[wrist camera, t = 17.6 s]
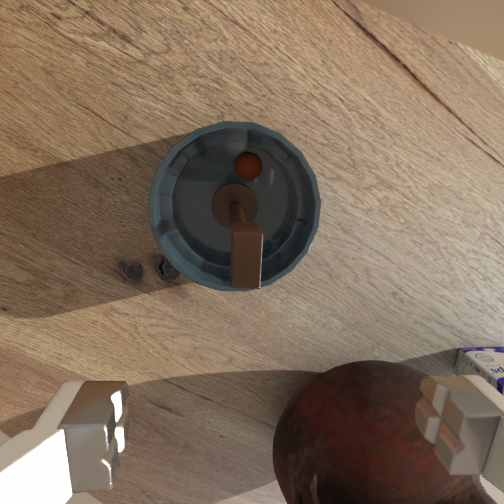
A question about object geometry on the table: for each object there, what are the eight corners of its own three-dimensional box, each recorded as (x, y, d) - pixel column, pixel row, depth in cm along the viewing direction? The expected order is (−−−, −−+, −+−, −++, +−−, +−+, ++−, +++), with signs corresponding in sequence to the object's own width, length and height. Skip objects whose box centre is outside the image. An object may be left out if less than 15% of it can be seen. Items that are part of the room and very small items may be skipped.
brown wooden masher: (212, 181, 39) (203, 217, 20) (257, 183, 40) (292, 220, 20) (211, 225, 41) (203, 300, 21) (255, 227, 41) (286, 301, 22)
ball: (228, 177, 37) (229, 151, 38) (245, 185, 39) (246, 160, 40) (250, 172, 35) (252, 144, 36) (267, 181, 38) (268, 155, 38)
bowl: (157, 120, 38) (144, 116, 31) (312, 129, 39) (329, 126, 33) (162, 269, 43) (152, 290, 36) (298, 271, 44) (311, 292, 38)
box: (508, 345, 51) (563, 383, 43) (501, 371, 52) (553, 413, 44) (457, 346, 50) (504, 386, 42) (451, 373, 51) (495, 416, 43)
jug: (315, 306, 46) (417, 480, 22) (461, 367, 51) (670, 561, 27) (236, 445, 52) (250, 700, 28) (374, 487, 57) (485, 733, 33)
